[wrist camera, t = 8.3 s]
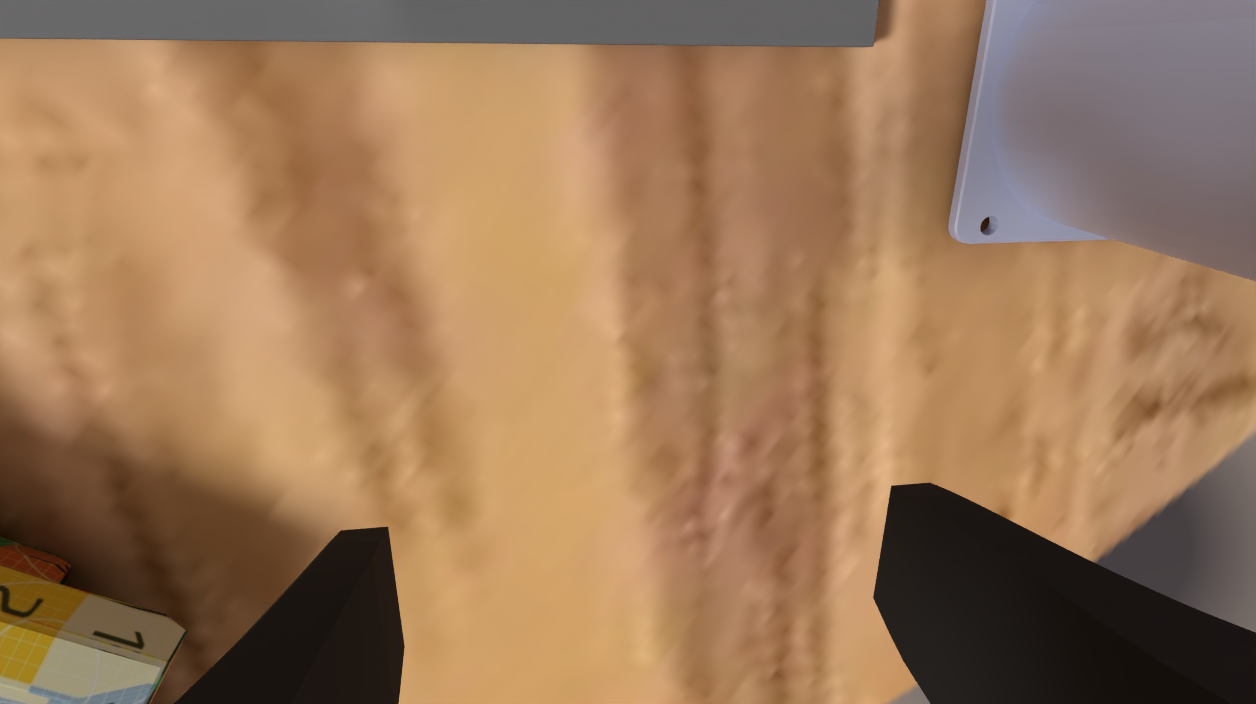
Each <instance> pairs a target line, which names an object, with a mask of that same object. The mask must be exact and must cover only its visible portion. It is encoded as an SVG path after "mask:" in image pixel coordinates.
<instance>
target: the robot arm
mask: <svg viewBox="0 0 1256 704" xmlns="http://www.w3.org/2000/svg"><path fill="white" fill-rule="evenodd" d="M986 217H989V222H990V223H989V225H988V227H987V228H986V229H985V230H984V231H982V232H981V231H980V225H981V223H982V221H983V220H984V219H985V218H986ZM948 229H949V233H950V235H951V237H952V238H954V239H955V240H957V241H959V242H962V243H966V244H979V243H1013V242H1047V241H1080V240H1117V241H1121V242H1124V243H1127V244H1131V245H1134V246H1138V247H1141V248H1144V249H1148V250H1151V251H1154V252H1158V253H1161V254H1165V255H1168V256H1171V257H1175V258H1178V259H1182V260H1185V261H1188V262H1192V263H1195V264H1199V265H1202V266H1205V267H1209V268H1212V269H1216V270H1219V271H1222V272H1226V273H1229V274H1233V275H1236V276H1239V277H1243V278H1246V279H1250V280H1253V281H1256V0H986V6H985V12H984V18H983V24H982V30H981V36H980V41H979V47H978V53H977V59H976V65H975V71H974V77H973V83H972V88H971V94H970V100H969V106H968V112H967V118H966V124H965V130H964V135H963V141H962V147H961V153H960V159H959V165H958V171H957V177H956V183H955V188H954V194H953V200H952V206H951V212H950V218H949V224H948ZM873 598H874V600H875V603H876V605H877V607H878V609H879V611H880V613H881V616H882V618H883V620H884V622H885V624H886V627H887V629H888V631H889V633H890V635H891V637H892V639H893V641H894V643H895V645H896V647H897V649H898V651H899V653H900V655H901V657H902V659H903V661H904V663H905V664H906V666H907V667H908V669H909V671H910V672H911V674H912V675H913V677H914V679H915V680H916V682H917V683H918V685H919V686H920V688H921V689H922V691H923V692H924V694H925V696H926V697H927V699H928V700H929V702H930V703H931V704H1256V633H1255V632H1252V631H1250V630H1247V629H1245V628H1242V627H1240V626H1237V625H1235V624H1232V623H1229V622H1227V621H1224V620H1222V619H1219V618H1217V617H1214V616H1212V615H1209V614H1207V613H1204V612H1202V611H1200V610H1197V609H1195V608H1192V607H1190V606H1188V605H1185V604H1183V603H1181V602H1178V601H1176V600H1174V599H1171V598H1169V597H1167V596H1165V595H1163V594H1160V593H1158V592H1156V591H1153V590H1152V589H1149V588H1147V587H1145V586H1143V585H1140V584H1138V583H1136V582H1134V581H1132V580H1130V579H1127V578H1125V577H1123V576H1121V575H1119V574H1116V573H1114V572H1112V571H1110V570H1108V569H1106V568H1104V567H1102V566H1100V565H1098V564H1096V563H1094V562H1092V561H1089V560H1087V559H1085V558H1083V557H1081V556H1079V555H1077V554H1075V553H1073V552H1071V551H1069V550H1067V549H1065V548H1063V547H1061V546H1059V545H1057V544H1055V543H1053V542H1051V541H1049V540H1047V539H1045V538H1043V537H1041V536H1039V535H1037V534H1035V533H1034V532H1032V531H1030V530H1028V529H1026V528H1024V527H1022V526H1020V525H1018V524H1016V523H1014V522H1012V521H1010V520H1008V519H1006V518H1004V517H1002V516H1000V515H998V514H996V513H994V512H992V511H990V510H988V509H986V508H984V507H982V506H980V505H978V504H976V503H974V502H972V501H970V500H968V499H966V498H964V497H962V496H960V495H958V494H955V493H953V492H951V491H949V490H946V489H944V488H942V487H939V486H937V485H934V484H932V483H920V484H908V485H896V486H891V491H890V497H889V504H888V510H887V516H886V522H885V528H884V535H883V541H882V547H881V553H880V559H879V566H878V572H877V578H876V584H875V590H874V597H873ZM403 656H404V640H403V633H402V625H401V618H400V611H399V603H398V596H397V589H396V582H395V574H394V567H393V560H392V552H391V545H390V538H389V531H388V527H379V528H367V529H354V530H342V531H340V532H339V533H338V534H337V535H336V536H335V537H334V538H333V539H332V540H331V541H330V542H329V543H328V545H327V546H326V547H325V548H324V549H323V550H322V551H321V552H320V553H319V554H318V555H317V557H316V558H315V559H314V560H313V561H312V562H311V563H310V564H309V565H308V567H307V568H306V569H305V570H304V571H303V572H302V573H301V574H300V576H299V577H298V578H297V579H296V580H295V581H294V582H293V583H292V584H291V585H290V587H289V588H288V589H287V590H286V591H285V592H284V593H283V594H282V595H281V597H280V598H279V599H278V600H277V601H276V602H275V603H274V604H273V605H272V606H271V607H270V608H269V609H268V610H267V611H266V613H265V614H264V615H263V616H262V617H261V618H260V619H259V620H258V621H257V622H256V623H255V624H254V625H253V626H252V627H251V628H250V629H249V630H248V632H247V633H246V634H245V635H244V636H243V637H242V638H241V639H240V640H239V641H238V642H237V643H236V644H235V645H234V646H233V647H232V648H231V649H230V650H229V651H228V652H227V653H226V654H225V655H224V656H223V657H222V658H221V659H220V660H219V661H218V662H217V663H216V664H215V665H214V666H213V667H212V668H211V669H210V670H209V671H208V672H207V673H206V674H204V675H203V676H202V677H201V678H200V679H199V680H198V681H197V682H196V683H195V684H194V685H193V686H192V687H191V688H190V689H189V690H188V691H187V692H186V693H185V694H184V695H183V696H182V697H181V698H180V699H179V700H178V701H176V702H175V703H174V704H398V703H399V694H400V685H401V675H402V666H403Z"/></svg>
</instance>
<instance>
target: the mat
mask: <svg viewBox="0 0 1256 704" xmlns="http://www.w3.org/2000/svg"><path fill="white" fill-rule="evenodd" d="M878 4H879V0H0V38H19V39H117V40H214V41H312V42H409V43H507V44H605V45H702V46H800V47H873V46H874V37H875V29H876V21H877V12H878Z"/></svg>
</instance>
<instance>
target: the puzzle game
mask: <svg viewBox="0 0 1256 704" xmlns="http://www.w3.org/2000/svg"><path fill="white" fill-rule="evenodd" d="M71 567H72V566H71V565H69V564H68V563H67V562H66V561H65V560H64V559H62V558H61V557H60V556H57V555H53V554H50V553H47V552H44V551H41V550H38V549H35V548H32V547H29V546H26V545H23V544H20V543H17V542H14V541H10V540H7V539H4V538H1V537H0V704H151V703H152V701H153V699H154V697H155V695H156V693H157V691H158V689H159V687H160V685H161V683H162V681H163V679H164V678H165V676H166V674H167V672H168V670H169V668H170V666H171V664H172V662H173V660H174V658H175V656H176V654H177V652H178V650H179V648H180V646H181V644H182V642H183V640H184V638H185V636H186V634H187V631H186V630H185V629H183V628H182V627H181V626H180V625H178V624H177V623H176V622H174V621H173V620H172V619H171V618H169V617H168V616H167V615H165V614H162V613H159V612H155V611H152V610H148V609H145V608H141V607H138V606H135V605H131V604H128V603H124V602H121V601H117V600H114V599H111V598H107V597H104V596H100V595H97V594H93V593H90V592H87V591H83V590H80V589H76V588H73V587H69V586H66V585H64V583H65V581H66V578H67V576H68V574H69V572H70V569H71Z"/></svg>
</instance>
